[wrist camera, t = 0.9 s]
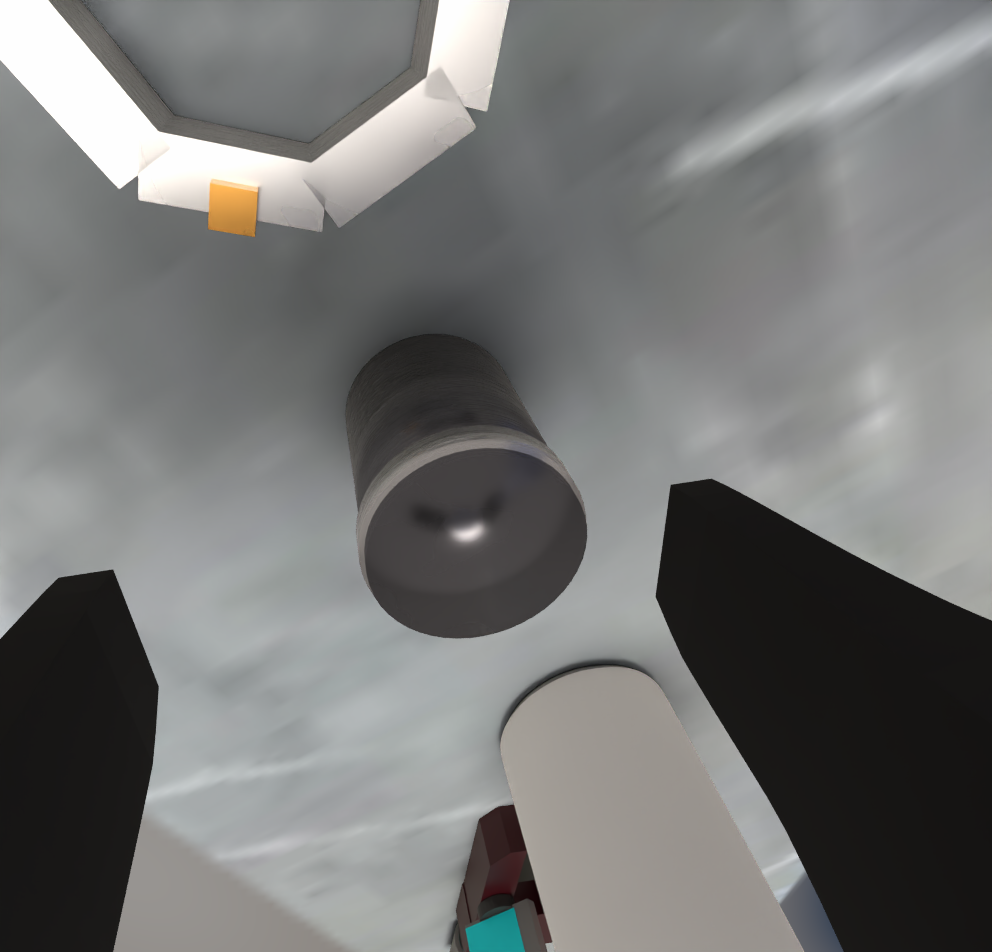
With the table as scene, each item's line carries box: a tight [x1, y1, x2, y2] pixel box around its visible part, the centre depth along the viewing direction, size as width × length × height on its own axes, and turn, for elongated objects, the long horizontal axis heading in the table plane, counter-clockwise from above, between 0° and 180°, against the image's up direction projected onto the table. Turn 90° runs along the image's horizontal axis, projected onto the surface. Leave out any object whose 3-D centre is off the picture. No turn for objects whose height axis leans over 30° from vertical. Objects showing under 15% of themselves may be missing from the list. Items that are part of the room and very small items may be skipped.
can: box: [500, 665, 804, 952], centre depth 23 cm, size 6×6×12 cm
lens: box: [346, 334, 587, 638], centre depth 17 cm, size 5×5×6 cm
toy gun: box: [450, 805, 552, 952], centre depth 31 cm, size 10×12×5 cm
